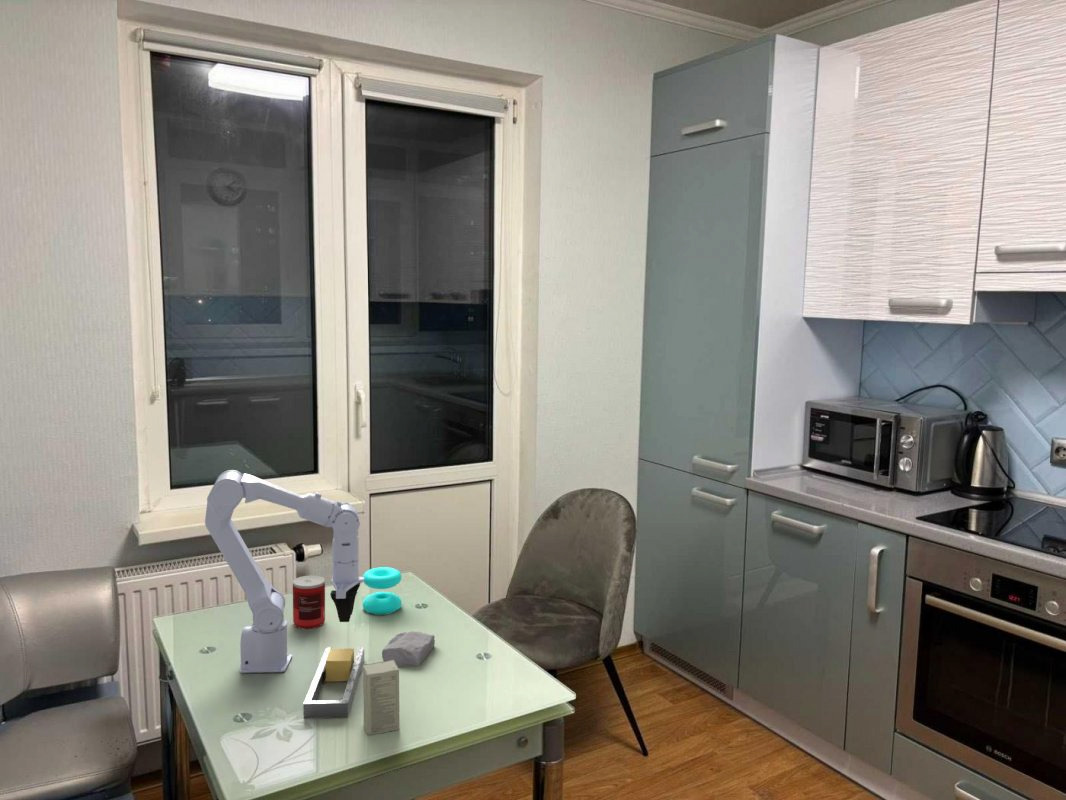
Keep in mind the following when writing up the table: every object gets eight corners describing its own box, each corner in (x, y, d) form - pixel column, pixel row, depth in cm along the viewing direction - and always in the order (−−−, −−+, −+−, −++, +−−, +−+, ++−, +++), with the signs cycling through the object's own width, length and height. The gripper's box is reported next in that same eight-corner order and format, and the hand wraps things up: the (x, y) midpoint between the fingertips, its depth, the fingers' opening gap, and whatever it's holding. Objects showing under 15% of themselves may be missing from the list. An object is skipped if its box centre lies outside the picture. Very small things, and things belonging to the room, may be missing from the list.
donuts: (356, 576, 204) (372, 564, 214) (356, 613, 206) (372, 599, 215) (392, 580, 202) (407, 567, 212) (392, 618, 203) (407, 603, 213)
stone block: (379, 671, 178) (421, 667, 176) (376, 650, 178) (417, 646, 176) (399, 651, 190) (438, 647, 188) (395, 631, 190) (435, 627, 188)
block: (325, 681, 169) (325, 661, 168) (330, 668, 174) (330, 648, 174) (349, 681, 169) (349, 660, 168) (353, 668, 175) (353, 648, 174)
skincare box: (395, 718, 155) (395, 659, 153) (400, 730, 150) (400, 669, 149) (362, 724, 152) (362, 664, 151) (366, 736, 148) (366, 674, 147)
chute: (303, 718, 154) (303, 703, 153) (326, 660, 179) (326, 647, 178) (347, 717, 155) (347, 703, 154) (364, 659, 179) (364, 646, 179)
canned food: (311, 614, 204) (310, 573, 203) (332, 622, 200) (331, 579, 198) (286, 623, 198) (285, 581, 197) (307, 632, 194) (306, 588, 192)
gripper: (359, 570, 170) (359, 631, 172) (367, 549, 185) (367, 605, 186) (325, 570, 170) (326, 631, 172) (336, 549, 184) (337, 605, 186)
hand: (345, 618), depth 179 cm, fingers open, 3 cm apart
